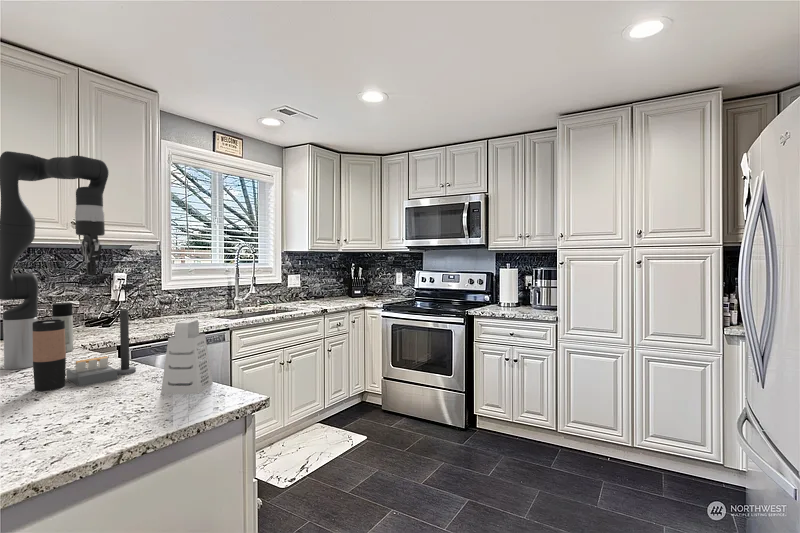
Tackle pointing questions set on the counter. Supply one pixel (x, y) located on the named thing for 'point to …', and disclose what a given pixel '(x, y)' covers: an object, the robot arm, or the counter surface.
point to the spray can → (65, 313)
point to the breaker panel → (91, 375)
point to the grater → (186, 360)
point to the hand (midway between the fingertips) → (91, 274)
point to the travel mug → (49, 354)
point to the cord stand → (124, 345)
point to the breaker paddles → (91, 363)
